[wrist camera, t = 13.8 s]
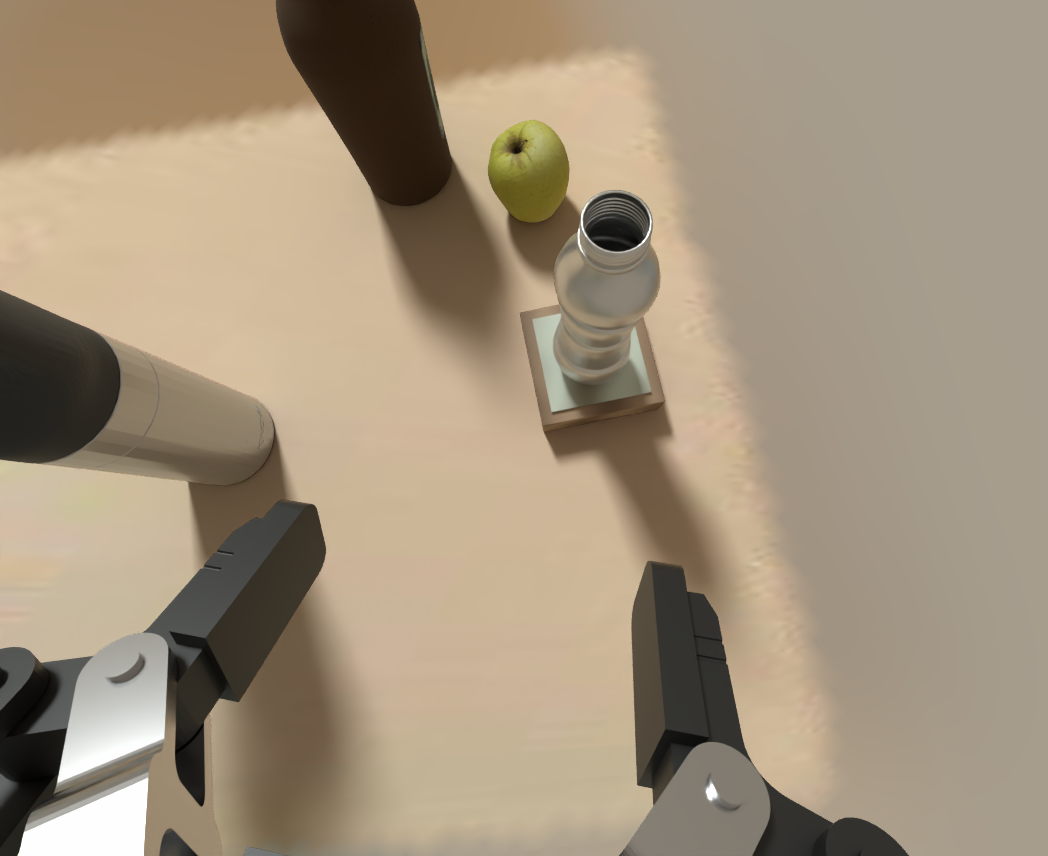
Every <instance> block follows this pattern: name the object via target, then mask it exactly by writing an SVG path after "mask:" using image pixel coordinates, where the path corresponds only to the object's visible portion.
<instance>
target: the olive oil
mask: <svg viewBox="0 0 1048 856" xmlns="http://www.w3.org/2000/svg"><path fill="white" fill-rule="evenodd" d="M276 11H277V18H278V23H279V27H280V31H281V35H282V38H283V41H284V44H285V47H286V49H287V52H288V54H289V56H290V58H291V60H292V62H293V63H294V65H295V67H296V68H297V70H298V71H299V73H300V75H301V76H302V78H303V79H304V81H305V82H306V84H307V85H308V87H309V88H310V90H311V92H312V93H313V95H314V96H315V98H316V100H317V101H318V103H319V104H320V106H321V107H322V109H323V111H324V112H325V114H326V115H327V117H328V118H329V120H330V122H331V123H332V125H333V126H334V128H335V130H336V131H337V133H338V134H339V136H340V138H341V139H342V141H343V142H344V144H345V146H346V147H347V149H348V150H349V152H350V154H351V155H352V157H353V159H354V160H355V162H356V164H357V165H358V167H359V169H360V170H361V172H362V174H363V175H364V177H365V179H366V181H367V182H368V184H369V185H370V187H371V189H372V190H373V191H374V192H375V193H376V194H377V195H378V196H379V197H380V198H381V199H383V200H385V201H387V202H389V203H392V204H396V205H414V204H418V203H421V202H424V201H426V200H428V199H430V198H431V197H433V196H434V195H436V194H437V193H438V192H439V191H440V190H441V189H442V188H443V186H444V185H445V183H446V182H447V180H448V177H449V175H450V171H451V156H450V151H449V147H448V143H447V139H446V135H445V131H444V126H443V122H442V118H441V114H440V109H439V105H438V100H437V96H436V91H435V87H434V83H433V78H432V74H431V69H430V64H429V60H428V55H427V50H426V46H425V41H424V36H423V32H422V27H421V23H420V18H419V14H418V11H417V8H416V5H415V2H414V0H276Z"/></svg>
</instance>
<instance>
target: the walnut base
mask: <svg viewBox="0 0 1048 856" xmlns="http://www.w3.org/2000/svg"><path fill="white" fill-rule="evenodd" d="M520 316H521V322H522V328H523V333H524V338H525V342H526V347H527V352H528V357H529V362H530V367H531V372H532V377H533V382H534V387H535V392H536V397H537V401H538V406H539V411H540V416H541V421H542V426H543V431H544V432H546V431H551V430H556V429H561V428H566V427H571V426H576V425H581V424H586V423H591V422H596V421H601V420H606V419H611V418H616V417H621V416H626V415H631V414H636V413H641V412H646V411H651V410H656V409H658V408H659V407H660V406H661V405H662V404H663V403H664V402H665V399H664V395H663V391H662V388H661V384H660V380H659V376H658V372H657V368H656V364H655V361H654V357H653V353H652V349H651V345H650V341H649V338H648V334H647V330H646V326H645V322H644V318H643V317H642V318H641V319H640V320H639V321H638V323H637V324H636V325H635V327H634V328H633V330H632V332H631V337H630V339H631V346H630V356H629V359H628V362H627V364H626V365H625V367H624V369H623V370H622V371H621V372H620V373H619V374H618V375H617V376H615V377H614V378H613V379H611V380H610V381H608V382H605V383H603V384H599V385H585V384H581V383H578V382H575V381H574V380H572V379H570V378H569V377H568V376H567V375H565V374H564V372H563V371H562V370H561V369H560V367H559V365H558V363H557V361H556V359H555V356H554V353H553V345H552V344H553V337H554V334H555V331H556V328H557V326H558V324H559V322H560V319H561V308H560V305H555V306H550V307H545V308H540V309H535V310H531V311H526V312H521V313H520Z"/></svg>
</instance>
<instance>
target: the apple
mask: <svg viewBox="0 0 1048 856" xmlns="http://www.w3.org/2000/svg"><path fill="white" fill-rule="evenodd" d="M488 176H489V180H490V183H491V186H492V188H493V191H494V192H495V194H496V195H497V197H498V198H499V200H500V201H501V202H502V204H503V205H504V206H505V208H506V209H507V210H508V211H509V213H510V214H511V215H512V216H514V217H515V218H516V219H518V220H521V221H525V222H540V221H543V220H546V219H548V218H549V217H551V216H552V215H553V214H554V212H555V211H556V210H557V208H558V207H559V206H560V204H561V203H562V201H563V199H564V197H565V194H566V190H567V186H568V181H569V162H568V158H567V154H566V151H565V148H564V145H563V143H562V141H561V140H560V138H559V137H558V135H557V134H556V133H555V132H554V131H553V130H552V129H551V128H550V127H549V126H547V125H546V124H544V123H542V122H539V121H535V120H530V121H525V122H522V123H519V124H517V125H515V126H513V127H511V128H509V129H508V130H506V131H505V132H504V133H502V134H501V135H500V136H499V137H498V138H497V139H496V140H495V142H494V144H493V146H492V149H491V155H490V160H489V165H488Z"/></svg>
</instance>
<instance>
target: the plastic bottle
mask: <svg viewBox="0 0 1048 856" xmlns="http://www.w3.org/2000/svg"><path fill="white" fill-rule="evenodd" d="M652 228H653V220H652V215H651V212H650V210H649V208H648V207H647V205H646V204H645V203H644V202H643V201H642V199H640V198H639V197H637V196H636V195H634V194H632V193H630V192H626V191H622V190H609V191H605V192H602V193H599V194H597V195H595V196H594V197H593V198H591V199H590V200H589V201H588V202H587V203H586V205H585V207H584V208H583V211H582V214H581V217H580V225H579V228H578V232H576V233H575V234H573V235H572V236H571V237H570V238H569V239H568V241H567V242H566V243H565V245H564V246H563V248H562V250H561V251H560V253H559V254H558V256H557V259H556V262H555V266H554V285H555V291H556V294H557V298H558V301H559V304H560V308H561V319H560V322H559V324H558V326H557V328H556V331H555V334H554V337H553V344H552V345H553V353H554V356H555V359H556V361H557V363H558V365H559V367H560V369H561V370H562V371H563V372H564V374H565V375H567V376H568V377H569V378H570V379H572V380H574V381H575V382H578V383H581V384H585V385H599V384H603V383H605V382H608V381H610V380H611V379H613V378H614V377H615V376H617V375H618V374H619V373H620V372H621V371H622V370H623V369H624V367H625V365H626V364H627V362H628V359H629V356H630V346H631V339H630V337H631V332H632V330H633V328H634V327H635V325H636V324H637V323H638V321H639V320H640V319H641V318H642V317H643V316H644V315H645V314H646V313H647V312H648V310H649V309H650V307H651V306H652V304H653V302H654V301H655V299H656V297H657V295H658V291H659V288H660V279H661V276H660V269H659V261H658V258H657V255H656V253H655V251H654V249H653V247H652V246H651V244H650V240H651V234H652Z"/></svg>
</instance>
